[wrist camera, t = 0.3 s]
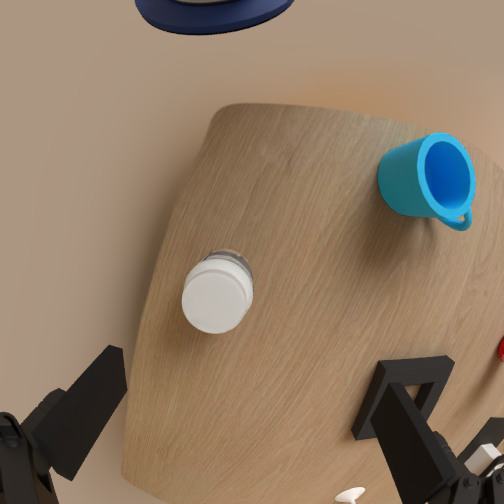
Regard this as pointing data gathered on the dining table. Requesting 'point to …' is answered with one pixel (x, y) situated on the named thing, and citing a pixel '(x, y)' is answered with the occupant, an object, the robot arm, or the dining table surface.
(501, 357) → the beverage can
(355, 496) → the champagne flute
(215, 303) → the pill bottle
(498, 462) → the black-topped pedestal
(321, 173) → the dining table surface
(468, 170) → the mug
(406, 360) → the dock pad
